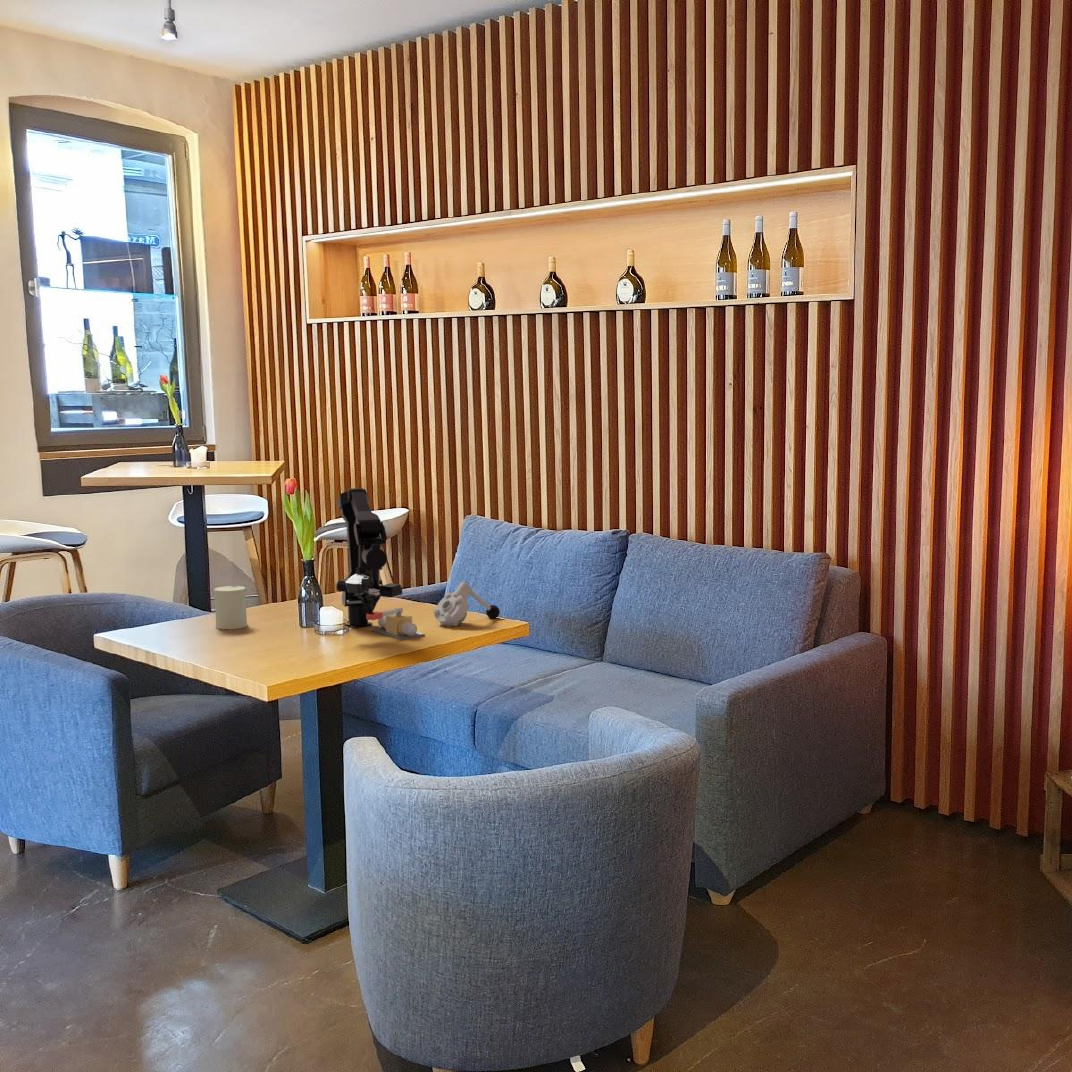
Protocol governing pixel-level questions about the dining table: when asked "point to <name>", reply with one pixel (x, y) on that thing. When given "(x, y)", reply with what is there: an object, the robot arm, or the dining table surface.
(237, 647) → the dining table surface
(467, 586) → the mechanical valve
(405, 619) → the pipe valve
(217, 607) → the can
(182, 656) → the dining table surface
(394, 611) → the valve lever
